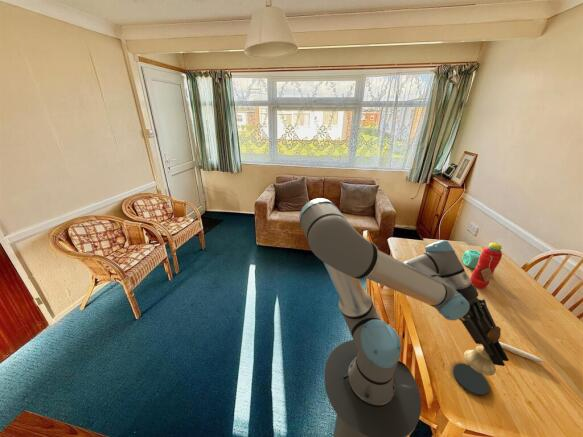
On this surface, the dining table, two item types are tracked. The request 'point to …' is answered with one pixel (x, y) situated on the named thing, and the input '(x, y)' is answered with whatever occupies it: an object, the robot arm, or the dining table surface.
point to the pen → (520, 352)
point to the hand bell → (483, 355)
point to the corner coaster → (470, 379)
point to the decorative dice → (471, 258)
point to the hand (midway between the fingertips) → (501, 362)
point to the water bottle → (486, 265)
